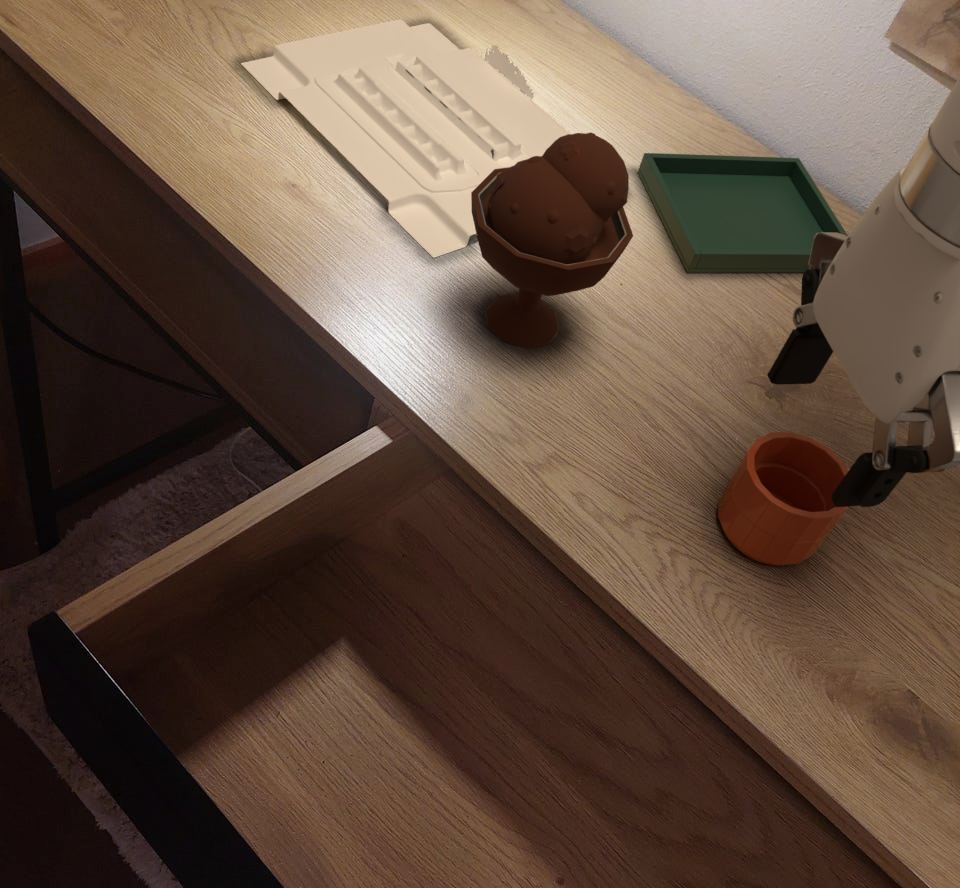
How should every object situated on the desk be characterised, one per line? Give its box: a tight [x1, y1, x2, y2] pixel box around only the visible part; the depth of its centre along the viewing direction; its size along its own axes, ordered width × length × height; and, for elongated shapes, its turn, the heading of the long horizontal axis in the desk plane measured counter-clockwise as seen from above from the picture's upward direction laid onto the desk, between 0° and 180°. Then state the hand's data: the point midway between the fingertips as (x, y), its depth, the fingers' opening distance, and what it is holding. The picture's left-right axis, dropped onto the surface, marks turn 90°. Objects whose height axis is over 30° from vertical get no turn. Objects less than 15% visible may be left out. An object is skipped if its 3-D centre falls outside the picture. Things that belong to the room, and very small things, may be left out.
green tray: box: [637, 152, 849, 274], centre depth 91 cm, size 15×13×2 cm
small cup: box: [717, 431, 850, 566], centre depth 69 cm, size 7×7×6 cm
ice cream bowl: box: [471, 132, 634, 349], centre depth 73 cm, size 11×11×15 cm
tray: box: [240, 18, 571, 259], centre depth 90 cm, size 20×28×4 cm
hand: (820, 438), depth 64 cm, fingers open, 9 cm apart
